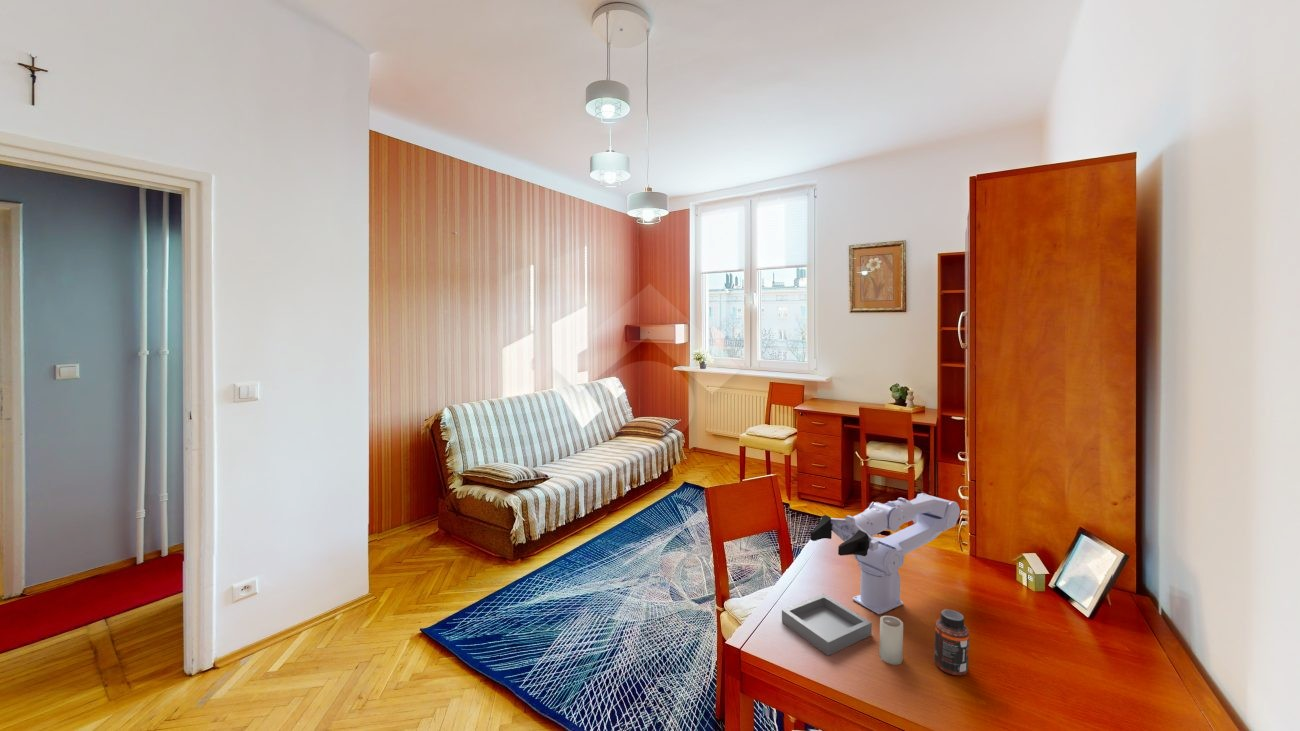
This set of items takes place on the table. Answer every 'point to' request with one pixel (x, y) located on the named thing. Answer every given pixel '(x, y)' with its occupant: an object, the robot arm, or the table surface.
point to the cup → (891, 640)
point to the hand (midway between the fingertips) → (825, 543)
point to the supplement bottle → (951, 643)
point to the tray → (826, 623)
